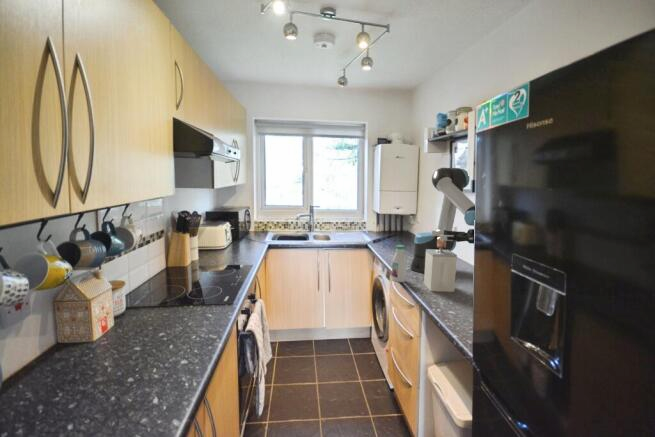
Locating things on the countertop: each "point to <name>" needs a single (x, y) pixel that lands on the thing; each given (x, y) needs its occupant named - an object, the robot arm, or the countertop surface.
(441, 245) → the plunger
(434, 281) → the beige rectangular box
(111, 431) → the countertop surface
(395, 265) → the milk bottle
